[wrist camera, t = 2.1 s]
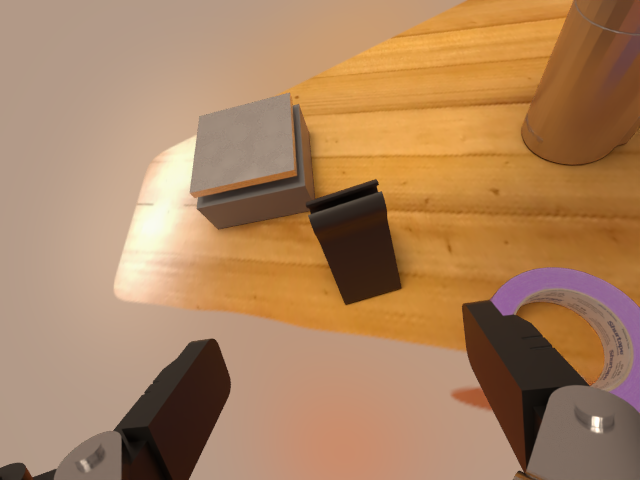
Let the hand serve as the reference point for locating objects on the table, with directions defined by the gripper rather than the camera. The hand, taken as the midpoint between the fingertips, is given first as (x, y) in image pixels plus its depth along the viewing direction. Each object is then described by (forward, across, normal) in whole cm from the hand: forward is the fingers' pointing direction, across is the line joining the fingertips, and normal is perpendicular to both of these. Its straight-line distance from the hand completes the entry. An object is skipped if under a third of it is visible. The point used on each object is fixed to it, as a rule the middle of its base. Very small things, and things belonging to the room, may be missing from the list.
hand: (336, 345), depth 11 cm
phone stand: (+25, 0, +7) cm, 26 cm away
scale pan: (+30, +11, -8) cm, 33 cm away
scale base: (+35, +11, -3) cm, 37 cm away
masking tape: (+18, -15, +15) cm, 27 cm away
